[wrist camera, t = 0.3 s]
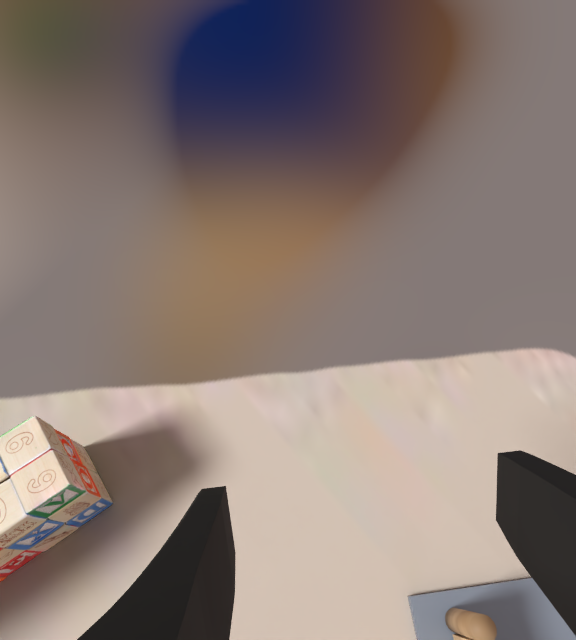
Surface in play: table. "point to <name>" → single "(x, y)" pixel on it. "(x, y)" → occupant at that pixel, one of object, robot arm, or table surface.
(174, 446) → the table surface
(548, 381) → the table surface
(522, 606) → the board
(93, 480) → the stack of blocks
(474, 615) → the oak fence section
